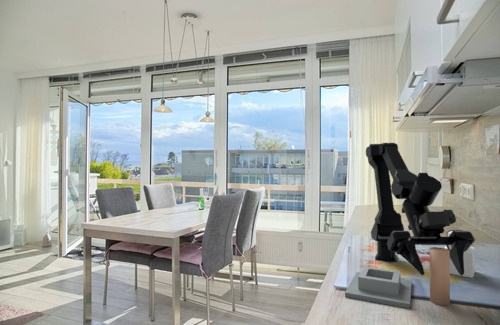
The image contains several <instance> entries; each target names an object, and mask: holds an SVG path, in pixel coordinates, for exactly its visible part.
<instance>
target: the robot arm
mask: <svg viewBox="0 0 500 325" xmlns="http://www.w3.org/2000/svg"><path fill="white" fill-rule="evenodd" d="M365 157H366V158H367V161H368V164H369V165H370V166H371V167H372V169H373V171H374V181H375V188H376V189H375V190H376V198H377V206H378V207H377V208H378V211H377V213H376V215H375V217H374V224H373V226H372V228H371V231H370V236H371V239H372V240H374V241H375V242H376V244H377V247H376V252H377V253H376V255H375V256H374V259H375V260H378V261H388V262H394V263H395V262H397V261H398V258H399V256H400V257H402V258H403V259H405V261H407V262H408V263H409V264H410V265H411V266H412V267H413V268H414V269H415V270H416V271H417V272H418V273H419V274H420V275H421V276H423V275H425V270H424V266H423V264H422V261H421V259H420V257H419V253H418V252H417V249H416V246H417V245H418V246H419V245H420V246H447V249H448V250H450V259H451V260H452V262H453V264H454V266H455V268H456V269H457V271H458V272H459V274H460V275H463V274H464V258H463V255H464V252H465V251H467V249H468V248H469V247H470V246H471V245H473V243H474V242H476V239H475V236H474V235H473V233H472V232H471V231H468V230H462V231H453V232H452V233H451V234H450V236H449V237H447V236H441V234H444V232H445V229H444V228H445V227H449V226H450V225H453V224H455V223H456V222H457V217H456V215H455V213H454V211H453V210H452V209H443V211H442V210H441V211H431V210H430V209H429V206H432V205H433V204H434V202H435V200H436V198H437V196H438V195H439V193H440V191H441V189H442V187H443V186H442V183H441V181H439V180H438V179H437V178H435V177H433V176H431V175H429V174H428V172H418V174H415V173H414V172H412V171H410V170H409V169H408V168H409V167H408V166H407V164H406V163H405V161H404V158H403V157H402V155H401V153H400V151H399V146H398V144H397V143H396V142H382V143H370V144H369V146H367V147H366V149H365ZM391 178H392V183H391ZM393 197H394V198H395V199H396V200H403V202H402V205H401V206H402V208H401V213H402V214H405V216H406V219H407V221H408V225H407V229H408V230H405V227H404V224H403V222H402V215H401V213H400V212H397V211H396V210H395V207H394V206H395V205H394V200H393ZM410 231H411V232H412V234H411V233H410ZM398 255H399V256H398Z"/></svg>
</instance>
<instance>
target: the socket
mask: <svg viewBox="0 0 500 325" xmlns="http://www.w3.org/2000/svg"><path fill="white" fill-rule="evenodd" d="M412 280H413V279H406V278H401V271H400V270H395V269H394V270H393V269H387V268H386V269H385V268H378V267H372V266H371V267H370V266H365V265H364V266H363V267H362V269H361V271H359V272H358V271H356V272H355V274H354V276H353V277H352V279H351V281H350V283H349V284H348V287H347V288H346V290H345V291H344V297H345V298H352V299H355V300H356V299H357V300H361V301H366V302H367V301H368V302H372V303H379V304H383V305H388V306H389V305H390V306H395V307H400V308H405V309H410V308H411V299H412V283H413V282H412Z"/></svg>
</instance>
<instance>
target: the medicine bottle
mask: <svg viewBox="0 0 500 325" xmlns="http://www.w3.org/2000/svg"><path fill="white" fill-rule="evenodd" d="M453 231H463V229H461V230H460V229H449V230H447V232H446V237H449V236H450V234H451V233H452V232H453ZM472 245H473V244H472ZM472 245H471V246H470V247H469V248H468V249H467V251H465V252H464V255H463V258H464V274H463V275H460V274H459V272H458V271H457V269H456V268H455V266H454V264H453V262H452V260H451V259H450V275H454V276H459V277H464V278H470V279H473V278H474V275H475V273H476V248H475V247H474V246H472ZM443 248H445V249H447V246H446V245H444V247H443ZM449 251H450V250H449Z"/></svg>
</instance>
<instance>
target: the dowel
mask: <svg viewBox="0 0 500 325" xmlns="http://www.w3.org/2000/svg"><path fill="white" fill-rule="evenodd" d="M428 248H429V247H428ZM428 253H429V301H430V302H431V303H432V304H435V305H439V306H450V305H451V284H450V283H451V279H450V278H451V274H450V251H449V250H448V249H445V248H444V247H436V246H435V247H434V246H433V247H430V248H429V252H428Z"/></svg>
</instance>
